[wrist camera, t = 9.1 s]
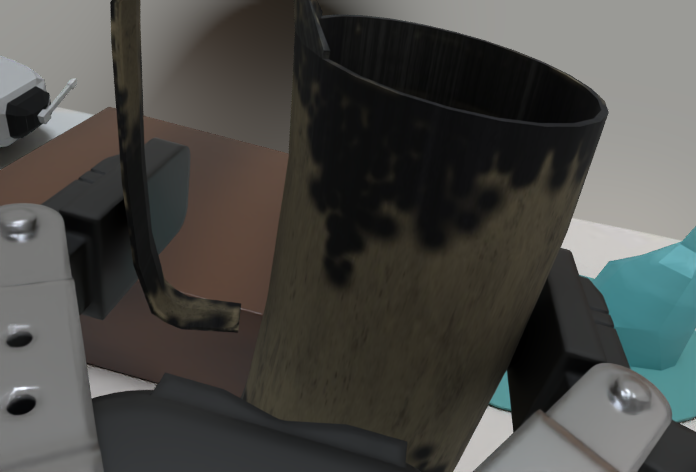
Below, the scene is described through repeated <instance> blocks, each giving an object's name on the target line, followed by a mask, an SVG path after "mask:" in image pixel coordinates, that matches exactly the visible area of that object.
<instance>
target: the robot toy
mask: <svg viewBox="0 0 696 472" xmlns="http://www.w3.org/2000/svg"><path fill="white" fill-rule="evenodd" d="M76 84H77V79H71V80H70V81H69V82H68V83H67V86H66V87H65V88H64V89H63V91H62V92H61V93H60V94H59V95H58V97H57V98H56V99H55V100H54V101H53V102H52V104H51V102H50V95H49V93H47V92H46V86H45V80H44V79H43V78H42V77H41V76H40V75H39V74H38V73H36V72H35V71H34V70H32V69H31V68H29V67H27V66H25V65H23V64H21V63H19V62H16V61H14V60H12V59H9V58H6V57H3V56H0V147H5V146H9V145H10V144H12V143H13V142H15V141H16V140H17V139H19V138H23V137H25V136H26V135H28V134H29V133H30V132H32V131H33V130H35V129H36V128H38V127H39V126H40V125H42V124H47V122H48V121H49V120H50V119H51V114H52V112H53V111H54V110H55V108H56V107H57V106H58V105H59V104H60V102H61V101H62V100H63V99H64V98H65V96H66V95H67V94H68V93H69V92H70V90H71V89H74V87H75V86H76Z"/></svg>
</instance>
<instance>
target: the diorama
mask: <svg viewBox="0 0 696 472" xmlns="http://www.w3.org/2000/svg"><path fill="white" fill-rule="evenodd" d="M579 276H581V275H579ZM582 277H585V276H582ZM586 278H588V279H589V280H590V281H591V282H592V283H593V284H594V285H595V287H596V288H597V289H598V290H599V291H600V292H601V293H602V295H603V296H604V299H605V302H606V304H607V307H608V310H609V315H611V318H612V320H613V323H614V329H616V331H617V334H618V336H619V339H620V342H621V344H622V347H623V350H624V352H625V355H626V358H627V360H628V363H629V366H630V368H631V370H633V371H635V372H637V373H639V374H640V375H642V376H643V377H645V378H646V379H648V380H649V381H650V382H651V383H653V384H654V385H655V386H656V387H657V388H658V389H659V390H660V391H661V392H662V394H663V395H664V396H665V397H666V399H667V401H668V402H669V404H670V407H671V409H672V420H674V421H676V422H682V421H687V420H691V419H693V418H694V417H696V331H695V328H696V227H695V228H694V229H693V230H692V231H691V232H690V233H689V234H688V235H687V236H686V238H685V239H684V240H683V241H682V242H679V243H676V244H673V245H670V246H667V247H664V248H661V249H658V250H655V251H652V252H649V253H646V254H643V255H640V256H634V257H629V258H624V259H619V260H614V261H609V262H608V263H607V265H606V266H605V267H604V268H603V270H602V271H601V272H600V273H599V275H598V276H597V277H596V278H595V279H593V278H589V277H586ZM489 404H490V405H492V406H495V407H497V408H501V409H505V410H509V411H511V404H510V395H509V386H508V376H507V370H506V372H505V374H504V376H503V378H502V380H501V382H500V384H499V386H498V387H497V389H496V391H495V393H494V395H493V397H492V399H491V401H490V403H489Z"/></svg>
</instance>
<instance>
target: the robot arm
mask: <svg viewBox="0 0 696 472" xmlns="http://www.w3.org/2000/svg"><path fill="white" fill-rule="evenodd" d="M144 149H145V162H146V173H147V183H148V194H149V205H150V215H151V226H152V233H153V237H154V241H155V244H156V248H157V252H158V255H159V254H160V253H161V252H162V251H163V250H164V248H165V247H166V246H167V245H168V244H169V243H170V241H171V240H172V239H173V238H174V237H175V236H176V234H177V233H178V232H179V231H180V229H181V227H182V225H183V223H184V220H185V217H186V213H187V208H188V193H189V176H190V157H191V156H190V149H189V147H188V146H186V145H182V144H178V143H175V142H171V141H167V140H163V139H160V138H156V137H155V138H152V139H151V140H149V141H148V142H147V143H145V144H144ZM137 280H138V276H137V274H136V271H135V268H134V266H133V259H132V252H131V245H130V238H129V231H128V224H127V217H126V209H125V202H124V195H123V188H122V179H121V165H120V154H118V155H114V156H111V157H108V158H105V159H104V160H102V161H101V162H99V163H98V164H97V165H95V166H94V167H93V168H91V170H90V171H87V172H86V173H84V174H83V175H81V176H80V177H79V179H78V180H74V181H73V182H72V183H70V184H69V185H67V186H66V187H65V188H63V189H62V190H60V191H59V192H58V193H56V194H55V195H53V196H52V197H51V198H49V199H48V200H46V201H45V202H44V203H42V204H41V205H39V204H31V203H16V204H8V205H2V206H0V472H421V471H419V470H418V469H416V468H415V467H413V466H412V465H410V464H408V463H406V452H407V441H404V440H400V439H397V438H393V437H390V436H386V435H383V434H379V433H376V432H372V431H369V430H365V429H362V428H358V427H354V426H351V425H347V424H332V423H315V422H299V421H285V420H281V419H278V418H276V417H274V416H272V415H270V414H268V413H266V412H265V411H263V410H261V409H259V408H257V407H255V406H254V405H252V404H250V403H248V402H246V401H244V400H243V399H241V398H239V397H237V396H235V395H234V394H232V393H230V392H228V391H226V390H224V389H221V388H218V387H214V386H211V385H207V384H204V383H200V382H197V381H193V380H190V379H186V378H183V377H179V376H176V375H172V374H169V373H165V374H164V375H163V377H162V378H161V380H160V381H159V383H158V385H157V386H156V388H155V389H154V390H137V391H125V392H117V393H112V394H108V395H103V396H99V397H96V398H93V399H92V398H91V392H90V385H89V378H88V371H87V364H86V358H85V351H84V344H83V337H82V330H81V324H80V317H79V316H80V315H81V314H82V315H85V316H89V317H92V318H96V319H99V320H104V319H105V318H106V316H107V315H108V314H109V313H110V312H111V310H112V309H113V308H114V307H115V306H116V305H117V303H118V302H119V301H120V300H121V299H122V298H123V296H124V295H125V294H126V293H127V292H128V291H129V289H130V288H131V287H132V286H133V285H134V284H135V282H136V281H137ZM507 376H508V386H509V395H510V404H511V414H512V423H513V432H514V433H513V434H512V435H511V436H510V437H509V438H508V439H507V440H506V441H505V442H503V443H502V444H501V445H500V446H499V447H498V448H497V449H496V450H495V451H494V452H493V453H492V454H491V455H490V456H489V457H488V458H487V459H486V460H485V461H484V462H483V463H481V464H480V465H479V466H478V467H477V468H476V469H475V470H474V471H473V472H696V432H695V431H693V430H691V429H689V428H687V427H685V426H683V425H681V424H679V423H678V422H676V421H674V420H672V409H671V407H670V404H669V402H668V401H667V399H666V397H665V396H664V395H663V394H662V392H661V391H660V390H659V389H658V388H657V387H656V386H655V385H654V384H653V383H651V382H650V381H649V380H648V379H646V378H645V377H643V376H642V375H640V374H639V373H637V372H635V371H633V370H631V368H630V366H629V363H628V360H627V358H626V355H625V352H624V350H623V347H622V344H621V342H620V339H619V336H618V334H617V331H616V329H614V323H613V320H612V318H611V315H609V310H608V307H607V304H606V302H605V299H604V296H603V295H602V293H601V292H600V291H599V290H598V289H597V288H596V287H595V285H594V284H593V283H592V282H591V281H590V280H589V279H588V278H586V277H582V276H579V273H578V270H577V267H576V264H575V261H574V258H573V255H572V253H571V251H570V250H567V249H563V248H560V250H559V252H558V254H557V256H556V259H555V261H554V263H553V266H552V268H551V270H550V273H549V275H548V277H547V279H546V282H545V284H544V286H543V289H542V291H541V293H540V296H539V298H538V300H537V302H536V305H535V307H534V309H533V312H532V314H531V316H530V319H529V321H528V323H527V325H526V328H525V330H524V332H523V335H522V337H521V339H520V342H519V344H518V346H517V348H516V351H515V353H514V355H513V358H512V360H511V362H510V365H509V366H508V368H507Z"/></svg>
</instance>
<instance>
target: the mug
mask: <svg viewBox="0 0 696 472" xmlns="http://www.w3.org/2000/svg"><path fill="white" fill-rule="evenodd" d="M110 4H111V43H112V56H113V70H114V84H115V98H116V111H117V125H118V138H119V152H120V165H121V179H122V188H123V195H124V202H125V209H126V217H127V224H128V231H129V238H130V245H131V252H132V259H133V266H134V268H135V271H136V274H137V276H138V279H139V282H140V284H141V287H142V290H143V292H144V295H145V298H146V300H147V303H148V306H149V308H150V311H151V313H152V314H153V315H155V316H156V317H158V318H159V319H161V320H163V321H164V322H166V323H168V324H170V325H172V326H175V327H177V328H179V329H185V330H201V331H218V332H234V333H238V328H239V320H240V312H241V303H235V302H227V301H219V300H211V299H203V298H195V297H188V296H187V295H185V294H183V293H181V292H180V291H178V290H176V289H175V288H174V287H173V286H172V285H171V284H169V283H168V282H167V281H166V280H165V278H164V274H163V270H162V267H161V263H160V259H159V256H158V252H157V248H156V244H155V241H154V237H153V233H152V226H151V215H150V205H149V194H148V183H147V173H146V162H145V149H144V119H143V92H142V91H143V90H142V62H141V61H142V60H141V31H140V0H112V1H111V2H110ZM294 15H295V46H294V63H293V64H294V65H293V84H292V101H291V102H292V103H291V121H290V141H289V158H288V164H287V171H286V178H285V184H284V191H283V197H282V204H281V211H280V217H279V224H278V230H277V237H276V244H275V250H274V257H273V263H272V270H271V276H270V283H269V290H268V296H267V301H266V305H265V309H264V313H263V317H262V321H261V325H260V330H259V334H258V338H257V342H256V346H255V350H254V355H253V359H252V363H251V367H250V371H249V375H248V379H247V382H246V385H245V388H244V391H243V393H242V396H241V399H243V400H244V401H246V402H248V403H250V404H252V405H254V406H255V407H257V408H259V409H261V410H263V411H265V412H266V413H268V414H270V415H272V416H274V417H276V418H278V419H281V420H285V421H299V422H315V423H332V424H347V425H351V426H354V427H358V428H362V429H365V430H369V431H372V432H376V433H379V434H383V435H386V436H390V437H393V438H397V439H400V440H404V441H407V452H406V463H408V464H410V465H412V466H413V467H415V468H416V469H418V470H419V471H421V472H453V471H454V469H455V467H456V465H457V464H458V462H459V460H460V458H461V456H462V454H463V452H464V450H465V448H466V447H467V445H468V443H469V441H470V439H471V437H472V435H473V433H474V431H475V429H476V427H477V426H478V424H479V422H480V420H481V418H482V416H483V414H484V412H485V410H486V408H487V406H488V405H489V403H490V401H491V399H492V397H493V395H494V393H495V391H496V389H497V387H498V386H499V384H500V382H501V380H502V378H503V376H504V374H505V372H506V370H507V368H508V366H509V365H510V362H511V360H512V358H513V355H514V353H515V351H516V348H517V346H518V344H519V342H520V339H521V337H522V335H523V332H524V330H525V328H526V325H527V323H528V321H529V319H530V316H531V314H532V312H533V309H534V307H535V305H536V302H537V300H538V298H539V296H540V293H541V291H542V289H543V286H544V284H545V282H546V279H547V277H548V275H549V273H550V270H551V268H552V266H553V263H554V261H555V259H556V256H557V254H558V252H559V250H560V247H561V245H562V243H563V240H564V238H565V236H566V233H567V231H568V228H569V225H570V222H571V219H572V216H573V213H574V210H575V208H576V205H577V202H578V199H579V196H580V193H581V190H582V187H583V185H584V182H585V179H586V176H587V173H588V170H589V167H590V165H591V162H592V159H593V156H594V153H595V150H596V147H597V144H598V141H599V139H600V136H601V133H602V130H603V127H604V124H605V121H606V119H607V115H608V109H607V107H606V104H605V101H604V100H603V99H602V98H601V97H600V96H599V95H598V94H597V93H595V92H594V91H593V90H592V89H591V88H589V87H588V86H587V85H585V84H583V83H582V82H580V81H579V80H577V79H575V78H574V77H572V76H571V75H569V74H567V73H565V72H563V71H561V70H558V69H557V68H554V67H552V66H550V65H548V64H546V63H544V62H542V61H539V60H537V59H534V58H532V57H529V56H527V55H524V54H522V53H520V52H517V51H514V50H511V49H508V48H505V47H503V46H500V45H497V44H494V43H491V42H487V41H485V40H481V39H478V38H474V37H471V36H467V35H464V34H460V33H457V32H453V31H449V30H444V29H440V28H436V27H432V26H427V25H423V24H418V23H413V22H407V21H401V20H396V19H390V18H380V17H372V16H363V15H327V16H322V10H321V8H320V6H319V3H318V1H317V0H294Z"/></svg>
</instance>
